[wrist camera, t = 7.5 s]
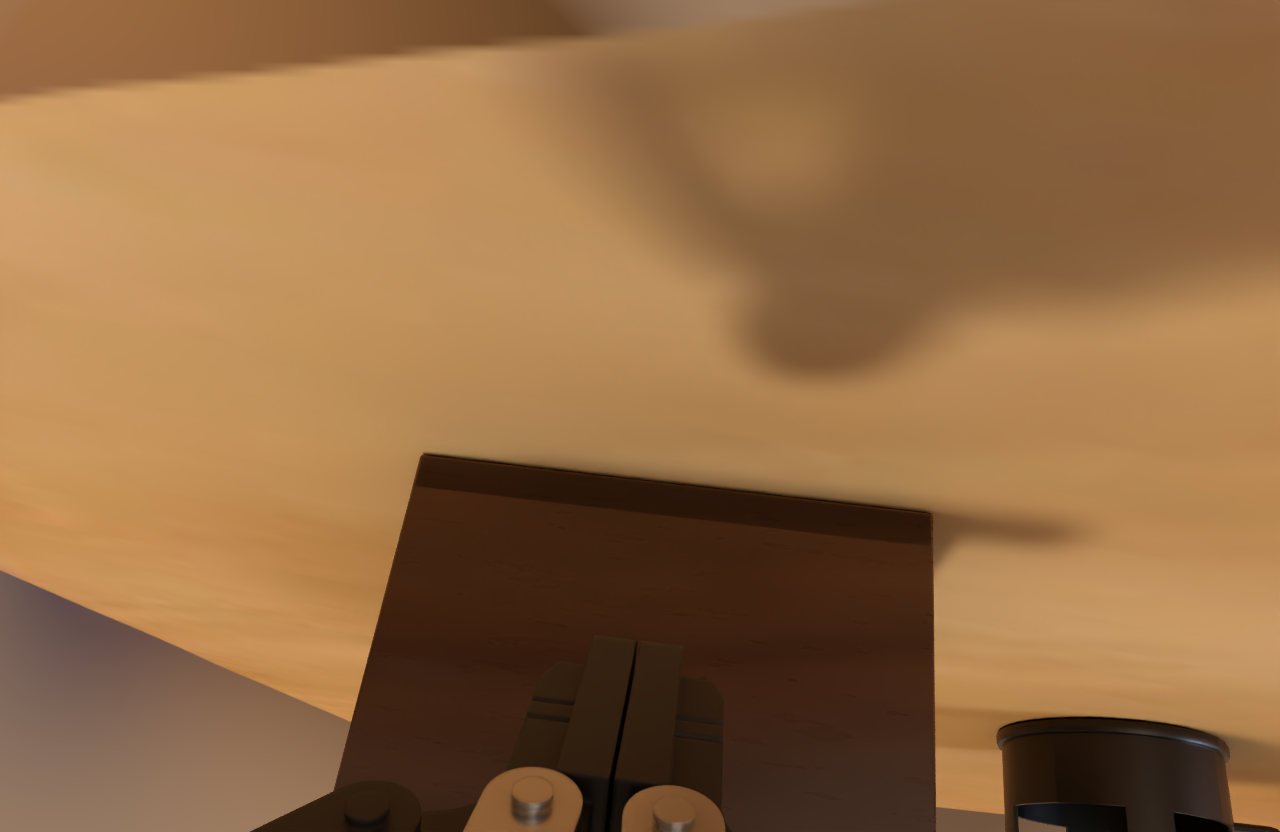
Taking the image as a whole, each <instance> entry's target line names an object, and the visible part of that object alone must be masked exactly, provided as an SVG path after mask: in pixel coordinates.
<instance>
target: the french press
mask: <svg viewBox="0 0 1280 832" xmlns="http://www.w3.org/2000/svg"><path fill="white" fill-rule="evenodd" d="M997 745H998V747H999V749H1001V750H1002V758H1003V782H1004V807H1005V831H1006V832H1019V829H1018V818H1021V819H1025V820H1029V821H1033V822H1037V823H1042V824H1047V825H1053V826H1059V827H1065V828H1066V832H1280V831H1279V830H1278V829H1275V828H1272V827H1267V826H1260V825H1251V824H1243V823H1234V822H1233V815H1232V808H1231V801H1230V794H1229V787H1228V780H1227V773H1226V766H1225V763H1227V762H1228V760H1229V758H1230V751H1229V748H1228V746H1227V744H1226V743H1225V742H1224V741H1222V740H1220V739H1219V738H1217V737H1214V736H1211V735H1208V734H1205V733H1202V732H1198V731H1194V730H1190V729H1186V728H1181V727H1175V726H1169V725H1163V724H1155V723H1147V722H1138V721H1126V720H1111V719H1050V720H1039V721H1030V722H1024V723H1018V724H1014V725H1011V726H1007V727H1005V728H1003V729H1001V730H999V732H998V734H997Z"/></svg>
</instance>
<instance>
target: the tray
mask: <svg viewBox="0 0 1280 832" xmlns="http://www.w3.org/2000/svg"><path fill="white" fill-rule="evenodd" d="M594 635H601V636H609V637H616V638H624V639H632V640H637V653H636V662H637V657H638V651H639V646H640V641H649V642H657V643H665V644H673V645H681V646H683V655H682V665H681V674H680V676H682V677H690V678H698V679H705V680H712V681H713V683H714V684H715V686H716V688H717V689H718V691H719V692H720V694H721V696H722V697H723V699H724V725H723V726H724V735H723V772H722V813H723V816H724V819H725V821H726V823H727V825H728V827H729V828H730V829H731V831H732V832H936V783H935V677H934V571H933V516H932V514H929V513H921V512H912V511H903V510H895V509H886V508H877V507H869V506H860V505H851V504H842V503H834V502H825V501H816V500H808V499H799V498H790V497H782V496H773V495H764V494H756V493H747V492H738V491H730V490H721V489H712V488H704V487H695V486H686V485H678V484H669V483H660V482H652V481H643V480H634V479H626V478H617V477H608V476H600V475H591V474H582V473H574V472H565V471H556V470H548V469H539V468H530V467H522V466H513V465H504V464H496V463H487V462H478V461H470V460H461V459H452V458H444V457H435V456H426V455H422V456H421V457H420V460H419V464H418V468H417V471H416V475H415V479H414V483H413V487H412V491H411V494H410V498H409V502H408V506H407V510H406V514H405V518H404V521H403V525H402V529H401V533H400V537H399V541H398V544H397V548H396V552H395V556H394V560H393V564H392V568H391V571H390V575H389V579H388V583H387V587H386V591H385V594H384V598H383V602H382V606H381V610H380V614H379V618H378V621H377V625H376V629H375V633H374V637H373V641H372V644H371V648H370V652H369V656H368V660H367V664H366V667H365V671H364V675H363V679H362V683H361V687H360V691H359V694H358V698H357V702H356V706H355V710H354V714H353V717H352V721H351V725H350V729H349V733H348V737H347V741H346V744H345V748H344V752H343V756H342V760H341V764H340V768H339V771H338V775H337V779H336V783H335V787H334V791H335V790H337V789H340V788H342V787H344V786H347V785H350V784H353V783H357V782H363V781H374V780H376V781H387V782H392V783H396V784H399V785H401V786H403V787H405V788H407V789H408V790H410V791H411V792H412V793H413V794H414V795H415V796H416V797H417V799H418V801H419V803H420V806H421V812H429V811H439V810H449V809H455V808H460V807H464V806H468V805H470V804H473V803H475V802H478V800H479V798H480V796H481V794H482V792H483V790H484V789H485V787H486V786H487V784H488V783H489V782H490V781H491V780H493V779H494V778H495V777H497V776H498V775H500V774H502V773H504V772H506V770H507V767H508V764H509V762H510V759H511V756H512V753H513V750H514V748H515V745H516V742H517V739H518V736H519V734H520V731H521V728H522V725H523V722H524V720H525V717H526V716H527V711H528V708H529V706H530V703H531V701H532V698H533V694H534V692H535V689H536V686H537V683H538V680H539V678H540V676H541V675H542V674H544V673H545V672H546V671H547V670H548V669H549V668H551V667H552V666H553V665H554V664H555V663H557V662H558V661H564V662H572V663H580V664H586V661H587V657H588V654H589V650H590V647H591V643H592V640H593V637H594ZM635 667H636V664H635Z"/></svg>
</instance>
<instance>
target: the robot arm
mask: <svg viewBox="0 0 1280 832" xmlns="http://www.w3.org/2000/svg"><path fill="white" fill-rule="evenodd" d="M636 653H637V640H632V639H624V638H616V637H609V636H601V635H594V637H593V640H592V643H591V647H590V650H589V654H588V657H587V661H586V664H580V663H572V662H564V661H558V662H557V663H555V664H554V665H553V666H552V667H551V668H549V669H548V670H547V671H546V672H545V673H544V674H542V675H541V676H540V678H539V680H538V683H537V686H536V689H535V692H534V694H533V698H532V701H531V703H530V706H529V708H528V711H527V716H526V717H525V720H524V722H523V725H522V728H521V731H520V734H519V736H518V739H517V742H516V745H515V748H514V750H513V753H512V756H511V759H510V762H509V764H508V767H507V770H506V772H504V773H502V774H500V775H498V776H497V777H495V778H494V779H493V780H491V781H490V782H489V783H488V784H487V786H486V787H485V789H484V790H483V792H482V794H481V796H480V798H479V800H478V802H475V803H473V804H470V805H468V806H464V807H460V808H455V809H449V810H439V811H429V812H421V806H420V803H419V801H418V799H417V797H416V796H415V795H414V794H413V793H412V792H411V791H410V790H408V789H407V788H405V787H403V786H401V785H399V784H396V783H392V782H387V781H376V780H374V781H363V782H357V783H353V784H350V785H347V786H344V787H342V788H340V789H337V790H335V791H333V792H331V793H330V794H327V795H325V796H323V797H321V798H319V799H317V800H315V801H313V802H310V803H308V804H307V805H305V806H302V807H300V808H298V809H296V810H294V811H292V812H290V813H288V814H286V815H284V816H282V817H279V818H277V819H275V820H273V821H271V822H269V823H267V824H265V825H263V826H261V827H259V828H257V829H255V830H253V831H251V832H732V831H731V829H730V828H729V827H728V825H727V823H726V821H725V819H724V816H723V813H722V772H723V735H724V726H723V725H724V699H723V697H722V696H721V694H720V692H719V691H718V689H717V688H716V686H715V684H714V683H713V681H712V680H705V679H698V678H690V677H682V676H680V674H681V665H682V655H683V646H681V645H673V644H665V643H657V642H649V641H640V646H639V651H638V657H637V662H636ZM635 664H636V667H635Z"/></svg>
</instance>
